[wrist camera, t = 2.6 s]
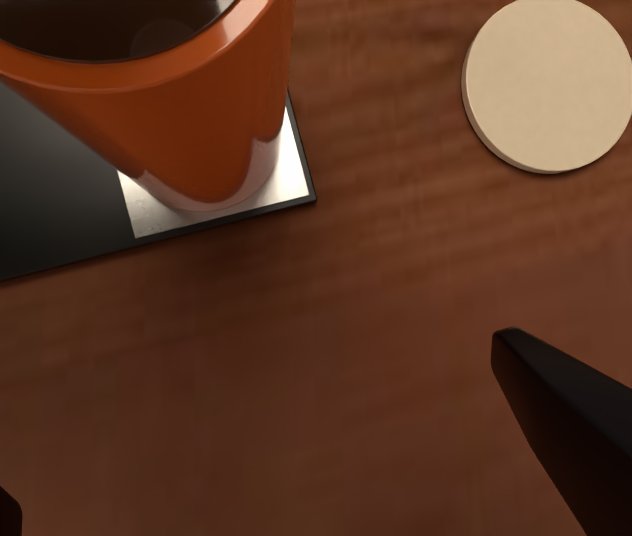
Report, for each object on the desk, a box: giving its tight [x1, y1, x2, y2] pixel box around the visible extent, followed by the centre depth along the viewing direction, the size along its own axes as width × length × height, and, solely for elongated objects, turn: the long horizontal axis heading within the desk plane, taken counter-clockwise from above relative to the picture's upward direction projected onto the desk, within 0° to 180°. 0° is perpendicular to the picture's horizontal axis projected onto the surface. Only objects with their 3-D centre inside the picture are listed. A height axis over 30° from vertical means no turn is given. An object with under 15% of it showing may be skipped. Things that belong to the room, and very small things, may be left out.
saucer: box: [461, 0, 632, 174], centre depth 23 cm, size 8×8×1 cm
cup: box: [0, 0, 296, 212], centre depth 14 cm, size 7×7×13 cm
